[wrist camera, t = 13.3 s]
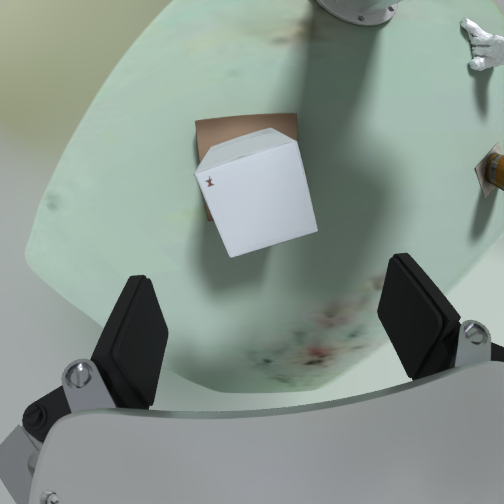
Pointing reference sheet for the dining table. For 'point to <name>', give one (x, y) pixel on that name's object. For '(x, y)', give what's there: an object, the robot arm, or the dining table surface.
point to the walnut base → (240, 130)
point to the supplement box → (256, 191)
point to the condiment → (491, 171)
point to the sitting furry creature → (484, 47)
